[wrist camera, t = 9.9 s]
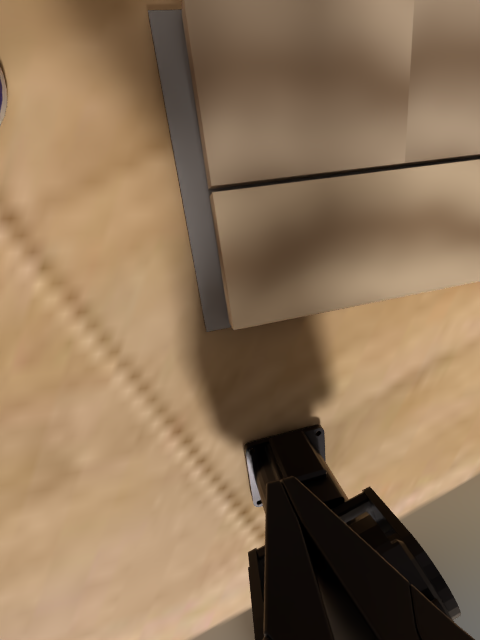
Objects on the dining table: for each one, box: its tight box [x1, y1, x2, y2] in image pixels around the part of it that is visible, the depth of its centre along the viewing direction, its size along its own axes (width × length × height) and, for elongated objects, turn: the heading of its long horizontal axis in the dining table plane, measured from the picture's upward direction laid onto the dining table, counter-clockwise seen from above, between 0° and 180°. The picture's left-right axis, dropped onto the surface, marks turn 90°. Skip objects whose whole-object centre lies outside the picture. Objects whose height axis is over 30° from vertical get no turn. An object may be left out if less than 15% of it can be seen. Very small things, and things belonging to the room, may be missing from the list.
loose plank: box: [209, 159, 480, 330], centre depth 18 cm, size 8×22×2 cm, turn 97°
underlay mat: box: [148, 10, 480, 332], centre depth 18 cm, size 16×25×1 cm, turn 97°
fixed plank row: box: [182, 0, 480, 189], centre depth 16 cm, size 8×22×2 cm, turn 97°
